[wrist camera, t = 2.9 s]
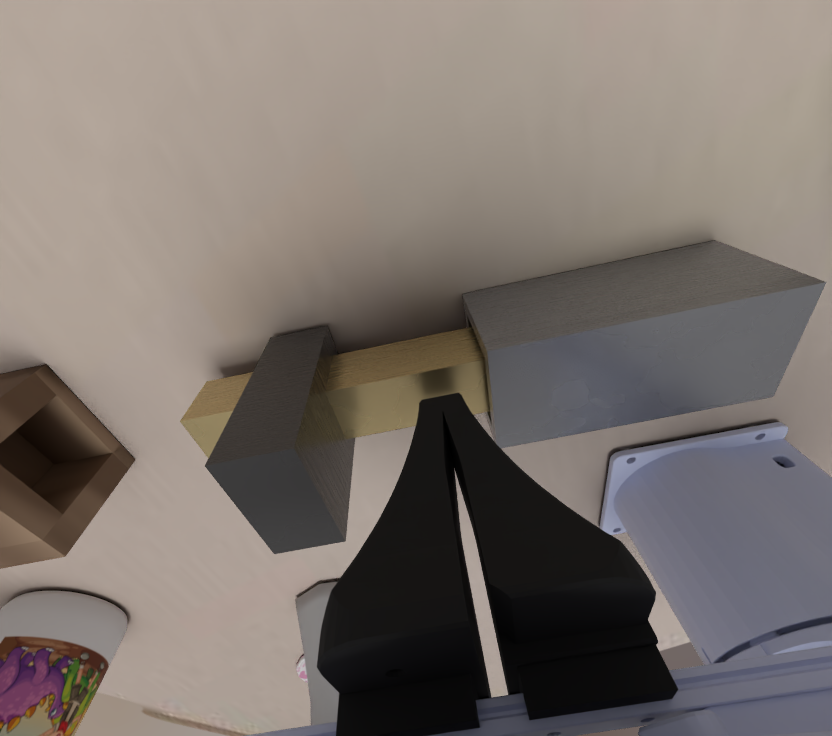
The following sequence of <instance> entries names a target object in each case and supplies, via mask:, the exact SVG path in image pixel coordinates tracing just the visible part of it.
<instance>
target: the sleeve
mask: <svg viewBox="0 0 832 736" xmlns="http://www.w3.org/2000/svg"><path fill="white" fill-rule="evenodd" d="M825 284H826V282H824V281H822V280H819V279H816V278H814V277H811V276H808V275H806V274H803V273H801V272H798V271H795V270H793V269H790V268H787V267H785V266H782V265H779V264H777V263H774V262H771V261H769V260H766V259H763V258H761V257H758V256H755V255H753V254H750V253H747V252H745V251H742V250H740V249H737V248H734V247H732V246H729V245H726V244H724V243H721V242H718V241H716V240H714V241H710V242H705V243H700V244H695V245H691V246H686V247H681V248H677V249H672V250H667V251H662V252H658V253H653V254H648V255H644V256H639V257H634V258H630V259H625V260H620V261H615V262H611V263H606V264H601V265H597V266H592V267H587V268H582V269H578V270H573V271H568V272H564V273H559V274H554V275H549V276H545V277H540V278H535V279H531V280H526V281H521V282H517V283H512V284H507V285H502V286H498V287H493V288H488V289H484V290H479V291H474V292H469V293H465V294H462V296H463V303H464V311H465V318H466V326H467V328H468V327H472V328H473V330H474V333H475V335H476V337H477V340H478V342H479V345H480V347H481V350H482V352H483V354H484V357H485V366H486V375H487V384H488V394H489V403H490V411H489V412H485V414H486V417H487V420H488V423H489V426H490V429H491V432H492V435H493V438H494V441H495V443H496V444H497V445H498V446H499V447H500V448H505V447H510V446H516V445H521V444H526V443H531V442H537V441H542V440H547V439H553V438H558V437H563V436H568V435H574V434H579V433H584V432H590V431H595V430H600V429H605V428H611V427H616V426H621V425H627V424H632V423H637V422H643V421H648V420H653V419H658V418H664V417H669V416H674V415H680V414H685V413H690V412H695V411H701V410H706V409H711V408H717V407H722V406H727V405H732V404H738V403H743V402H748V401H754V400H759V399H764V398H769V397H773V396H774V394H775V392H776V390H777V388H778V385H779V383H780V381H781V379H782V377H783V375H784V373H785V370H786V368H787V366H788V364H789V362H790V360H791V357H792V355H793V353H794V351H795V349H796V347H797V344H798V342H799V340H800V338H801V336H802V334H803V331H804V329H805V327H806V325H807V323H808V321H809V319H810V316H811V314H812V312H813V310H814V308H815V306H816V303H817V301H818V299H819V297H820V295H821V293H822V290H823V288H824V286H825Z"/></svg>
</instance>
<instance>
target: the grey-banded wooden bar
mask: <svg viewBox="0 0 832 736" xmlns="http://www.w3.org/2000/svg"><path fill="white" fill-rule="evenodd" d="M453 393H460V394H461V395H462V397H463V399H464V401H465V403H466V404H467V406H468V408H469V409H470V411H471V412H472V414H473V415H474V414H479V413H484V412H489V411H490V403H489V394H488V384H487V375H486V366H485V357H484V354H483V352H482V350H481V347H480V345H479V342H478V340H477V337H476V335H475V333H474V330H473V328H472V327H468V328H463V329H458V330H453V331H449V332H444V333H439V334H434V335H429V336H424V337H420V338H415V339H410V340H405V341H400V342H396V343H391V344H386V345H381V346H376V347H371V348H367V349H362V350H357V351H352V352H347V353H343V354H338V353H337V350H336V348H335V345H334V342H333V340H332V337H331V334H330V332H329V329H328V326H324V327H320V328H315V329H310V330H306V331H301V332H296V333H291V334H287V335H282V336H277V337H273V338H270V340H269V342H268V344H267V346H266V348H265V350H264V352H263V354H262V356H261V357H260V359H259V361H258V363H257V365H256V367H255V369H254V371H253V372H251V373H246V374H241V375H236V376H232V377H227V378H222V379H217V380H212V381H207V382H206V383H205V385H204V386H203V388H202V389H201V391H200V392H199V394H198V395H197V397H196V398H195V400H194V401H193V403H192V404H191V406H190V407H189V409H188V410H187V412H186V413H185V415H184V416H183V418H182V419H181V421H180V422H181V423H182V424H183V426H184V427H185V428H186V430H187V431H188V432H189V434H190V435H191V436H192V438H193V439H194V440H195V441H196V443H197V444H198V445H199V447H200V448H201V449H202V451H203V452H204V453H205V454H206V456H207V457H208V458H209V459H208V461H207V463H206V465H205V467H206V468H207V469H208V471H209V472H210V473H211V474H212V476H213V477H214V478H215V479H216V481H217V482H218V483H219V484H220V486H221V487H222V488H223V490H224V491H225V492H226V493H227V495H228V496H229V497H230V498H231V500H232V501H233V502H234V504H235V505H236V506H237V507H238V509H239V510H240V511H241V512H242V514H243V515H244V516H245V517H246V519H247V520H248V521H249V523H250V524H251V525H252V526H253V528H254V529H255V530H256V531H257V533H258V534H259V535H260V537H261V538H262V539H263V540H264V542H265V543H266V544H267V545H268V547H269V548H270V549H271V550H272V552H273V553H274V554H277V553H283V552H288V551H294V550H300V549H305V548H311V547H316V546H322V545H327V544H333V543H339V542H344V541H346V531H347V520H348V509H349V498H350V488H351V477H352V466H353V455H354V444H355V437H361V436H366V435H371V434H376V433H381V432H386V431H391V430H396V429H402V428H407V427H412V426H416V423H417V418H418V411H419V403H420V401H421V400H423V399H428V398H433V397H438V396H443V395H448V394H453Z"/></svg>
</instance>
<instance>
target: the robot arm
mask: <svg viewBox="0 0 832 736" xmlns="http://www.w3.org/2000/svg"><path fill="white" fill-rule="evenodd" d="M787 432H788V427H787V426H786V425H784V424H783V423H781V422H775V423H770V424H764V425H759V426H753V427H748V428H743V429H737V430H732V431H726V432H721V433H716V434H710V435H705V436H699V437H694V438H689V439H683V440H678V441H672V442H667V443H662V444H656V445H651V446H646V447H640V448H635V449H629V450H624V451H619V452H616V453H614V454H613V455H612V456H611V458H610V463H609V469H608V476H607V482H606V489H605V495H604V502H603V508H602V515H601V521H600V528H598V527H597V526H595V525H594V524H592V523H591V522H589V521H587V520H586V519H584V518H583V517H581V516H580V515H579V514H577V513H576V512H574V511H573V510H571V509H570V508H568V507H567V506H566V505H564V504H563V503H562V502H560V501H559V500H558V499H557V498H555V497H554V496H553V495H551V494H550V493H549V492H547V491H546V490H545V489H544V488H542V487H541V486H540V485H539V484H537V483H536V482H535V481H534V480H533V479H532V478H530V477H529V476H528V475H527V474H526V473H525V472H524V471H523V470H522V469H520V468H519V467H518V466H517V465H516V464H515V463H514V462H513V461H512V460H511V459H510V458H509V457H508V456H507V455H506V454H505V453H504V452H503V451H502V449H501V448H500V447H499V446H498V445H497V444H496V443H495V442H494V441H493V439H492V438H491V437H490V436H489V435H488V433H487V432H486V431H485V430H484V429H483V427H482V426H481V425H480V423H479V422H478V421H477V419H476V418H475V417H474V415H473V414H472V412H471V411H470V409H469V408H468V406H467V404H466V403H465V401H464V399H463V397H462V395H461V394H460V393H453V394H448V395H443V396H438V397H433V398H428V399H423V400H421V401H420V403H419V411H418V418H417V423H416V428H415V432H414V435H413V439H412V443H411V446H410V450H409V453H408V455H407V458H406V461H405V464H404V467H403V469H402V472H401V475H400V477H399V479H398V482H397V484H396V486H395V489H394V491H393V493H392V495H391V497H390V499H389V501H388V503H387V505H386V507H385V509H384V511H383V513H382V515H381V517H380V518H379V520H378V522H377V524H376V525H375V527H374V529H373V530H372V532H371V534H370V535H369V537H368V538H367V540H366V542H365V543H364V545H363V546H362V548H361V550H360V551H359V553H358V554H357V556H356V557H355V559H354V560H353V561H352V563H351V564H350V566H349V567H348V568H347V570H346V571H345V572H344V574H343V575H342V576H341V578H340V579H339V581H338V582H337V583H336V585H335V586H334V587H333V589H332V590H331V592H330V595H329V599H328V602H327V606H326V610H325V614H324V618H323V622H322V627H321V633H320V642H319V651H318V660H317V668H318V670H319V672H320V673H321V675H322V676H323V677H324V678H325V679H326V680H327V681H328V682H329V683H330V684H331V685H332V686H333V687H334V688H335V689H336V690H337V691H338V692H339V701H338V714H337V722H330V723H324V724H317V725H311V726H304V727H298V728H291V729H285V730H278V731H272V732H265V733H259V734H252V735H246V736H576V735H583V734H589V733H597V732H603V731H610V730H616V729H623V728H630V727H638V726H644V725H647V726H644V727H641V728H639V732H638V735H639V736H832V478H831V477H830V476H829V475H828V474H827V473H825V472H824V471H823V470H822V469H820V468H819V467H818V466H817V465H815V464H814V463H813V462H812V461H810V460H809V459H808V458H807V457H806V456H804V455H803V454H802V453H801V452H799V451H798V450H797V449H796V448H794V447H793V446H792V445H791V444H789V443H788V442H787V441H786V440H785V439H784V438H785V436H786V434H787ZM454 468H455V471H456V475H457V478H458V481H459V485H460V488H461V491H462V494H463V498H464V501H465V504H466V508H467V511H468V514H469V517H470V521H471V524H472V527H473V531H474V535H475V539H476V543H477V548H478V552H479V557H480V562H481V567H482V571H483V576H484V581H485V586H486V590H487V595H488V600H489V604H490V609H491V614H492V619H493V623H494V628H495V633H496V638H497V642H498V647H499V652H500V657H501V662H502V666H503V671H504V676H505V681H506V685H507V690H508V695H506V696H500V697H493V698H491V693H490V688H489V683H488V677H487V672H486V667H485V662H484V656H483V651H482V646H481V641H480V635H479V630H478V625H477V619H476V614H475V609H474V604H473V598H472V593H471V588H470V582H469V577H468V572H467V566H466V561H465V556H464V550H463V545H462V538H461V531H460V522H459V511H458V501H457V491H456V481H455V471H454ZM625 532H627V533H628V534H629V536H630V538H631V540H632V541H633V543H634V545H635V547H636V548H637V550H638V552H639V553H640V555H641V557H642V559H643V560H644V562H645V564H646V565H647V567H648V569H649V571H650V572H651V574H652V576H653V577H654V579H655V581H656V583H657V584H658V586H659V588H660V589H661V591H662V593H663V595H664V596H665V598H666V600H667V601H668V603H669V605H670V607H671V608H672V610H673V612H674V614H675V615H676V617H677V619H678V620H679V622H680V624H681V626H682V627H683V629H684V631H685V632H686V634H687V636H688V638H689V639H690V641H691V643H692V644H693V646H694V648H695V650H696V651H697V653H698V655H699V656H700V658H701V660H702V662H703V663H704V665H702V666H695V667H689V668H682V669H675V670H668V668H667V666H666V664H665V662H664V660H663V658H662V656H661V654H660V652H659V650H658V648H657V646H656V644H657V643H658V640H657V637H656V635H655V633H654V631H653V629H652V627H651V625H650V623H649V621H648V617H649V615H650V612H651V610H652V607H653V604H654V602H655V596H656V592H655V590H654V588H653V586H652V584H651V582H650V580H649V578H648V577H647V575H646V574H645V572H644V571H643V569H642V568H641V567H640V565H639V564H638V562H637V561H636V560H635V558H634V557H633V556H632V554H631V553H630V552H629V551H628V550H627V548H626V547H625V546H624V545H623V543H622V542H621V541H619V540H618V539H616V538H615V537H613V536H611V535H613V534H619V533H625Z"/></svg>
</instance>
